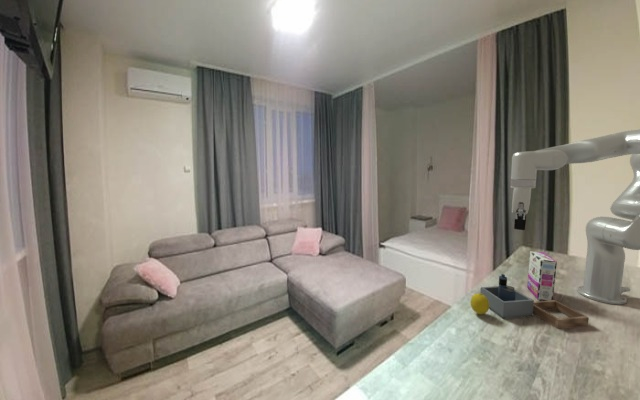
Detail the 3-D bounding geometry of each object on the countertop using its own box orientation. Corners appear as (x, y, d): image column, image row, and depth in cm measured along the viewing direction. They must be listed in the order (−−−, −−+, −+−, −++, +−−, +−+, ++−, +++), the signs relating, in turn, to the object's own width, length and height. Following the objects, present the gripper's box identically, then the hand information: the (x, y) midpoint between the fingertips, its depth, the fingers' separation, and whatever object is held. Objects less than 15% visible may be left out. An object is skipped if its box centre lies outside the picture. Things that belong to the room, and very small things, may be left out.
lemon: (491, 319, 84) (492, 298, 83) (473, 318, 85) (474, 296, 84) (484, 310, 89) (485, 290, 88) (467, 309, 90) (468, 289, 89)
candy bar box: (554, 302, 92) (557, 261, 90) (537, 300, 94) (540, 260, 92) (541, 289, 102) (544, 251, 100) (526, 287, 104) (529, 250, 102)
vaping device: (499, 302, 92) (500, 272, 91) (515, 309, 88) (517, 277, 86) (495, 304, 91) (497, 274, 89) (512, 311, 86) (514, 279, 85)
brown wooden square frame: (554, 307, 89) (554, 300, 89) (587, 326, 78) (588, 317, 78) (527, 309, 88) (527, 302, 88) (557, 328, 78) (558, 320, 77)
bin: (506, 299, 95) (507, 285, 95) (532, 316, 84) (533, 300, 84) (479, 301, 95) (480, 287, 94) (502, 318, 84) (503, 302, 83)
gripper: (511, 182, 102) (509, 221, 104) (509, 185, 89) (506, 230, 92) (535, 182, 97) (532, 223, 100) (536, 185, 85) (532, 233, 87)
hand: (520, 226), depth 96 cm, fingers open, 9 cm apart
